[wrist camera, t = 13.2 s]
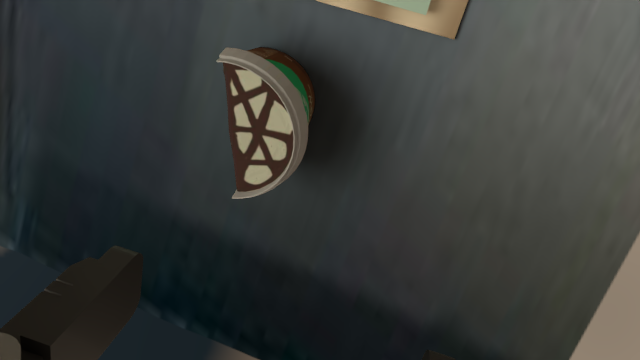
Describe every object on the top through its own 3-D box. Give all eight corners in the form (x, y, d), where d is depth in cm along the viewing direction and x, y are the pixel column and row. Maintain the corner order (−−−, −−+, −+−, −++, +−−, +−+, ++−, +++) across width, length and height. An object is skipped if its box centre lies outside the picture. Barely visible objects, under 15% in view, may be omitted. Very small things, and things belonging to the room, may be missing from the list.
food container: (328, 161, 49) (305, 210, 40) (268, 157, 50) (232, 204, 41) (326, 30, 44) (298, 54, 35) (258, 30, 45) (215, 53, 36)
